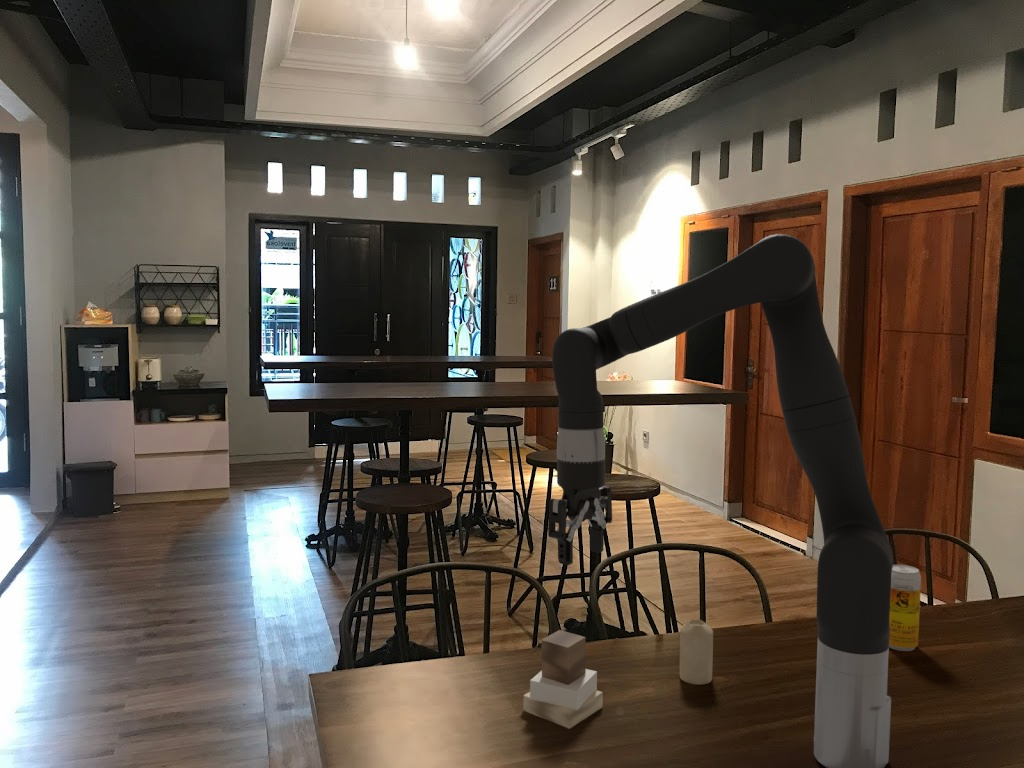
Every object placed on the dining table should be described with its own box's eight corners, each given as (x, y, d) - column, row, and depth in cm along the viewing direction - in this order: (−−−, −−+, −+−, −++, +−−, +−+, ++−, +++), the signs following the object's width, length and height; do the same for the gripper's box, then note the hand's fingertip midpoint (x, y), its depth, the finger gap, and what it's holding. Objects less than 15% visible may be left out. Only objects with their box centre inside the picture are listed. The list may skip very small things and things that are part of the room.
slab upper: (596, 689, 134) (596, 671, 134) (576, 710, 127) (577, 691, 127) (551, 679, 138) (551, 661, 137) (530, 698, 131) (530, 680, 130)
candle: (712, 686, 141) (713, 629, 140) (679, 683, 142) (680, 626, 141) (711, 672, 146) (712, 617, 145) (679, 670, 147) (680, 615, 146)
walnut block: (585, 673, 133) (585, 637, 132) (568, 685, 129) (567, 647, 128) (559, 665, 136) (559, 629, 135) (541, 676, 132) (541, 639, 131)
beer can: (884, 650, 156) (888, 572, 155) (880, 638, 162) (883, 562, 161) (920, 654, 154) (924, 575, 153) (914, 641, 160) (918, 565, 159)
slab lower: (602, 710, 133) (602, 692, 133) (569, 731, 126) (569, 712, 126) (557, 693, 139) (557, 676, 139) (523, 713, 132) (523, 695, 132)
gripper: (574, 464, 122) (575, 573, 123) (625, 452, 133) (625, 551, 134) (534, 459, 127) (535, 564, 128) (586, 448, 138) (587, 544, 139)
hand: (581, 557), depth 131 cm, fingers open, 8 cm apart
